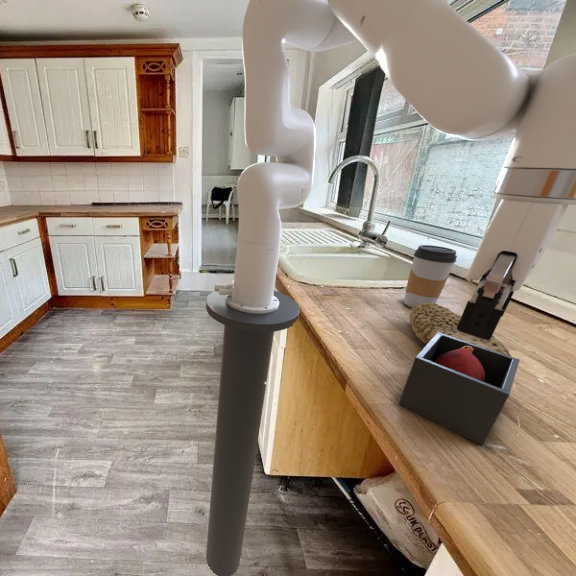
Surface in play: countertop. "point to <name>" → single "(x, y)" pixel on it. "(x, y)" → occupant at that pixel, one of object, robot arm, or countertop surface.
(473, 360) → the onion
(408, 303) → the coffee cup
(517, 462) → the countertop surface
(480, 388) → the waste bin
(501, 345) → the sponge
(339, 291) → the countertop surface
